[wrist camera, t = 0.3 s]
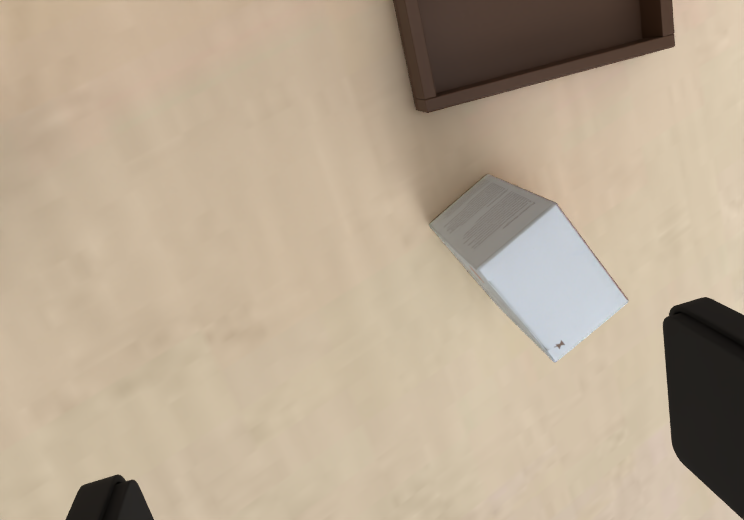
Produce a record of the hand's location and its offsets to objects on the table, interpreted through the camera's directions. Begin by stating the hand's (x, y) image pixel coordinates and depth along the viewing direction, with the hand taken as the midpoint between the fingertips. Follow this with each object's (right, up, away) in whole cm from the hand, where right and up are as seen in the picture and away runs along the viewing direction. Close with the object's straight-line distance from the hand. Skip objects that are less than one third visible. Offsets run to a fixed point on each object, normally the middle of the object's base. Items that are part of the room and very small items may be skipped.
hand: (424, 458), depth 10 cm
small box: (+7, +5, +33) cm, 34 cm away
